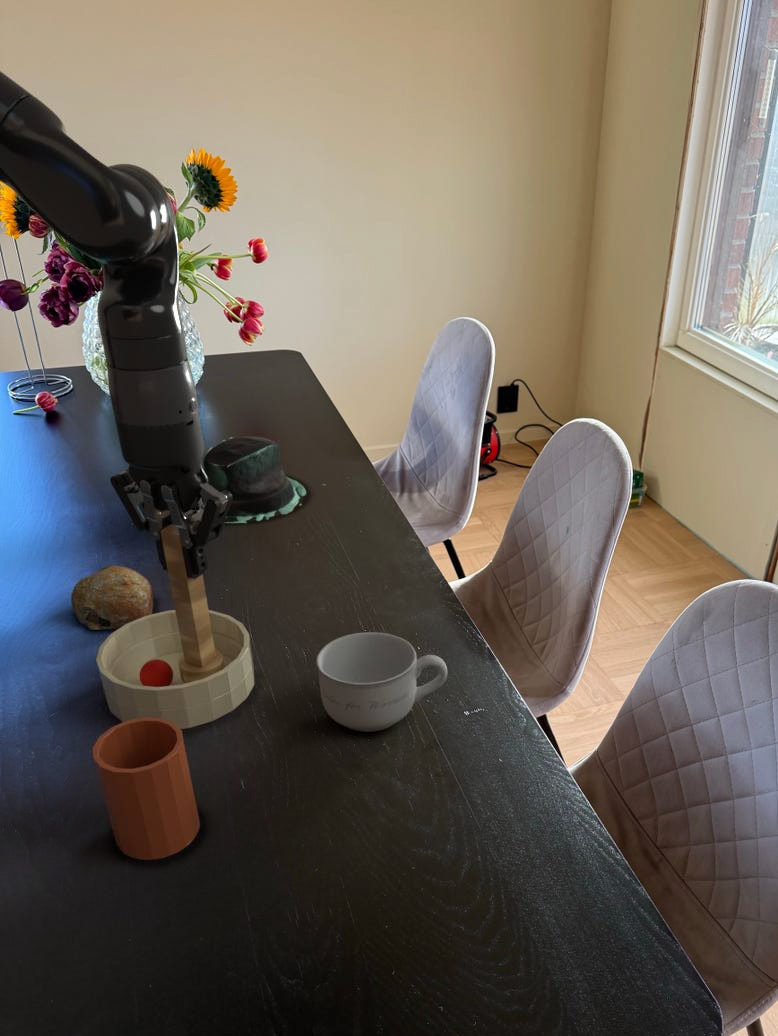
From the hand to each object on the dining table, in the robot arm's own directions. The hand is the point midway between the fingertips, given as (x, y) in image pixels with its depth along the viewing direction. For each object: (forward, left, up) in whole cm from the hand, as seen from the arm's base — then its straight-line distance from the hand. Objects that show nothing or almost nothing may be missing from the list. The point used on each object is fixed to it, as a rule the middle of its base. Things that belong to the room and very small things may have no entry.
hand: (185, 571), depth 92 cm
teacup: (+19, +6, -17) cm, 26 cm away
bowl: (-4, 0, -16) cm, 17 cm away
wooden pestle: (0, 0, -13) cm, 13 cm away
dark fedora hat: (-30, +47, -17) cm, 58 cm away
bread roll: (-23, +10, -17) cm, 30 cm away
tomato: (-6, -2, -14) cm, 15 cm away
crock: (+9, -19, -16) cm, 27 cm away
